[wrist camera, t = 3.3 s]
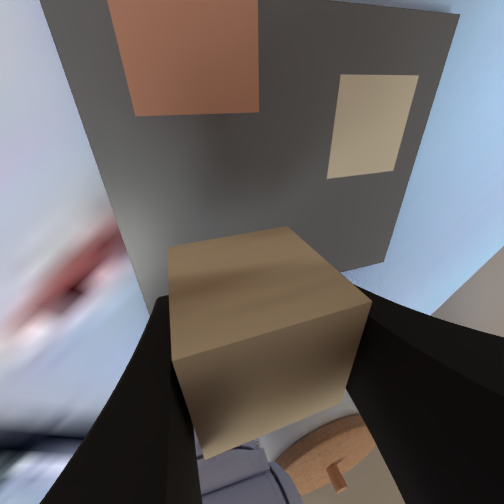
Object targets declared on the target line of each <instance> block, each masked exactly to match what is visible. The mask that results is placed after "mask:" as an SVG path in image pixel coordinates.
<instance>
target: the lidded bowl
mask: <svg viewBox="0 0 504 504" xmlns="http://www.w3.org/2000/svg"><path fill="white" fill-rule="evenodd" d="M258 443H259V448H264V451H265V454H266V457H267V460H268V462H276V463H277V464H279V465H280V466H281V468H282V469H283V470H284V471H285V472H286V473H287V474H288V475H289V476H290V477H291V479H292V480H293V482H294V484H295V486H296V487H297V489H298V491H299V494H300V496H301V495H303V494H306V493H309V492H311V491H313V490H315V489H318V488H320V487H322V486H323V485H325V484H327V483H329V482H331V483H332V485H333V487H334V489H335V491H336V493H340V492H342V491H344V490H345V489H346V488H347V487H348V486H347V484H346V483H345V480H344V479H343V476H342V474H344V473H345V472H347V471H348V470H350V469H351V468H352V467H354V466H355V465H356V464H357V463H359V462H360V461H361V460H362V459H363V458H365V457H366V456H367V455H368V454H369V453H370V452H371V451H372V450H373V448H374V447H375V446H376V443H375V441H374V439H373V437H372V435H371V434H370V432H369V430H368V428H367V426H366V424H365V422H364V421H363V419H362V417H361V415H360V413H359V411H358V410H357V408H356V406H355V404H354V403H353V401H352V399H351V397H350V396H349V394H348V392H347V390H346V388H345V391H344V394H343V397H342V401H341V403H340V404H337V405H335V406H333V407H330V408H328V409H326V410H323V411H321V412H318V413H316V414H314V415H311V416H309V417H306V418H304V419H302V420H299V421H297V422H295V423H292V424H290V425H287V426H285V427H283V428H280V429H278V430H275V431H273V432H271V433H268V434H266V435H263V436H261V437H259V438H258Z"/></svg>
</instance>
